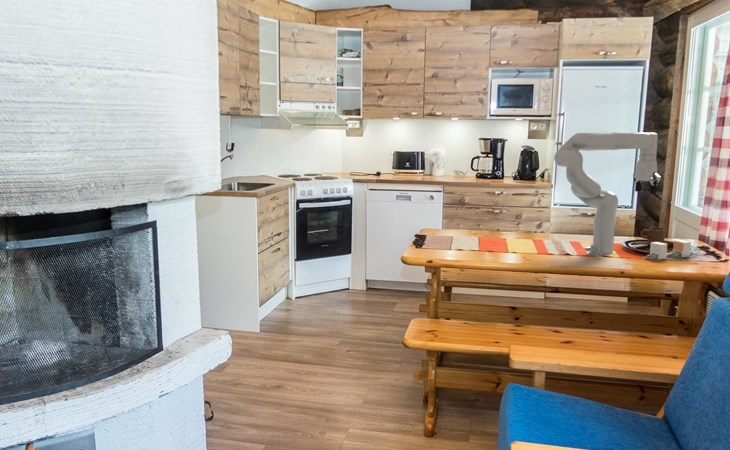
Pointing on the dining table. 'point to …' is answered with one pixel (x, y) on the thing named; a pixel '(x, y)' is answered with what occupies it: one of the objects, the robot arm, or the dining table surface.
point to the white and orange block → (682, 247)
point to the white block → (658, 249)
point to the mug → (654, 235)
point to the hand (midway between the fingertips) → (645, 192)
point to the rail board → (668, 256)
